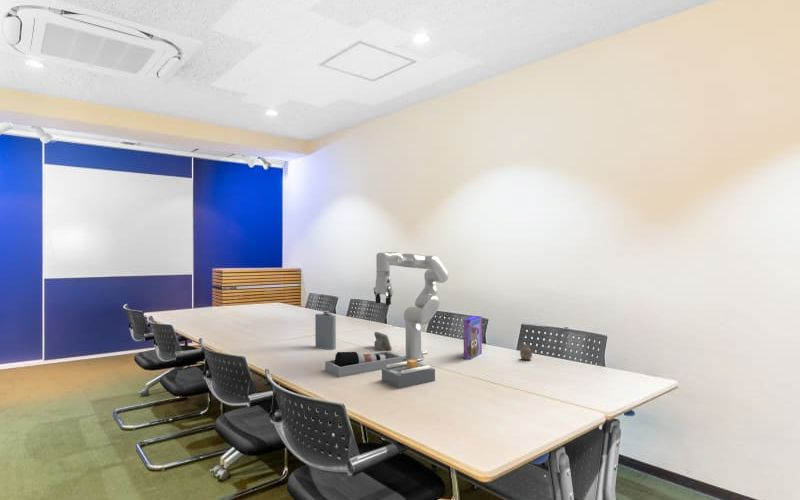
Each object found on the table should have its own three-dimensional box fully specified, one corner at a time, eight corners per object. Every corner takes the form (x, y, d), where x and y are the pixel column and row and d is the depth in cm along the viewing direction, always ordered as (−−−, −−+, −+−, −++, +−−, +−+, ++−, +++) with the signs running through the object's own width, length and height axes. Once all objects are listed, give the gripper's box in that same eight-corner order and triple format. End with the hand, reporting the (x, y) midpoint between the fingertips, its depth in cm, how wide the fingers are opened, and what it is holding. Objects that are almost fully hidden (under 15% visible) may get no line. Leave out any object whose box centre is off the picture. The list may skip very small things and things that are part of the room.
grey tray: (387, 359, 272) (387, 351, 272) (403, 365, 258) (403, 356, 258) (325, 370, 249) (325, 361, 249) (338, 377, 235) (338, 367, 235)
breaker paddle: (413, 366, 233) (413, 359, 233) (417, 367, 229) (417, 361, 229) (406, 367, 230) (406, 360, 230) (411, 369, 227) (411, 362, 227)
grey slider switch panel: (416, 373, 241) (416, 362, 241) (435, 380, 228) (435, 368, 228) (381, 380, 229) (381, 368, 229) (399, 388, 216) (399, 375, 216)
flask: (337, 348, 302) (337, 311, 302) (333, 349, 298) (332, 312, 298) (319, 345, 312) (319, 309, 312) (314, 346, 308) (314, 310, 308)
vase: (525, 361, 266) (525, 346, 266) (517, 359, 272) (517, 344, 272) (534, 360, 269) (534, 345, 269) (526, 357, 275) (526, 343, 275)
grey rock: (392, 350, 295) (392, 334, 295) (379, 352, 292) (379, 335, 292) (384, 345, 310) (384, 330, 310) (372, 346, 307) (372, 331, 307)
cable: (392, 372, 261) (397, 358, 258) (338, 374, 244) (343, 359, 240) (385, 360, 269) (390, 347, 265) (333, 362, 251) (338, 348, 248)
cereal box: (470, 359, 271) (470, 319, 271) (463, 358, 274) (463, 319, 274) (481, 353, 286) (481, 316, 286) (474, 352, 288) (474, 315, 288)
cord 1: (413, 363, 240) (413, 359, 240) (416, 363, 238) (416, 360, 238) (385, 368, 230) (385, 364, 230) (387, 369, 228) (387, 365, 228)
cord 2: (428, 368, 229) (428, 364, 229) (431, 369, 227) (431, 365, 227) (399, 374, 219) (399, 370, 219) (402, 375, 217) (402, 371, 217)
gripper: (397, 274, 252) (397, 304, 252) (379, 273, 266) (379, 302, 266) (386, 275, 248) (387, 306, 248) (368, 273, 261) (369, 303, 261)
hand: (383, 304), depth 257 cm, fingers open, 9 cm apart
